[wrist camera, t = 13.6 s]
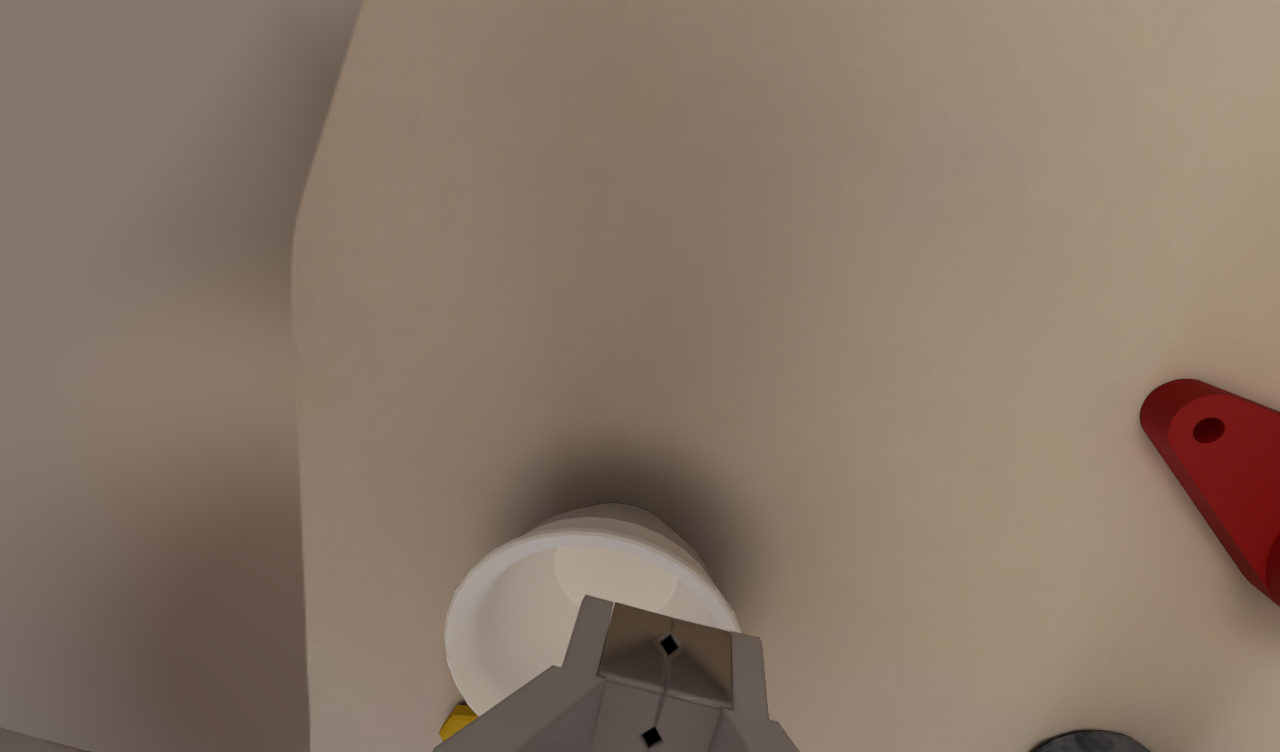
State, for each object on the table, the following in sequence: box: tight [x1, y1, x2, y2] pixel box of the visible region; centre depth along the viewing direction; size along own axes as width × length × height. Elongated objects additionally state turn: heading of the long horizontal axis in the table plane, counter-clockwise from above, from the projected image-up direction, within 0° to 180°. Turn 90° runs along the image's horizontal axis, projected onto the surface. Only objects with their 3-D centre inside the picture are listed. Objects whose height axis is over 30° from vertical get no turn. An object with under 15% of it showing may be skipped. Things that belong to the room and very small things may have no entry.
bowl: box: [444, 503, 744, 717], centre depth 36 cm, size 16×16×8 cm
